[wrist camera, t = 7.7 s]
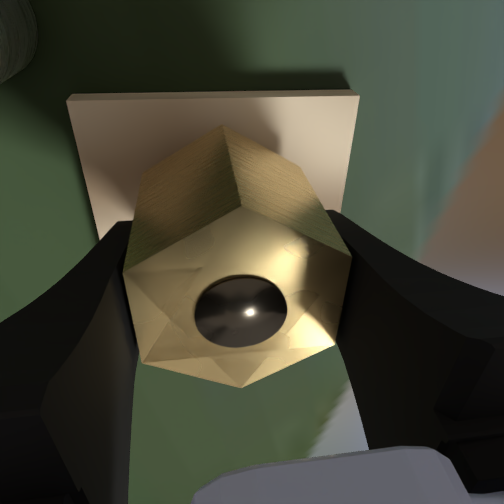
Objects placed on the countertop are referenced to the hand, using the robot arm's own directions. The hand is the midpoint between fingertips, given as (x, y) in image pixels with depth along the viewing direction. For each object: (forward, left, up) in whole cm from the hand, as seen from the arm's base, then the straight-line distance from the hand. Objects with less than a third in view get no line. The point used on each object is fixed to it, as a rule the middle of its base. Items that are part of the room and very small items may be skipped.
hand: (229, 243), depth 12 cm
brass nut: (0, 0, -2) cm, 2 cm away
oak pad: (0, 0, -4) cm, 4 cm away
